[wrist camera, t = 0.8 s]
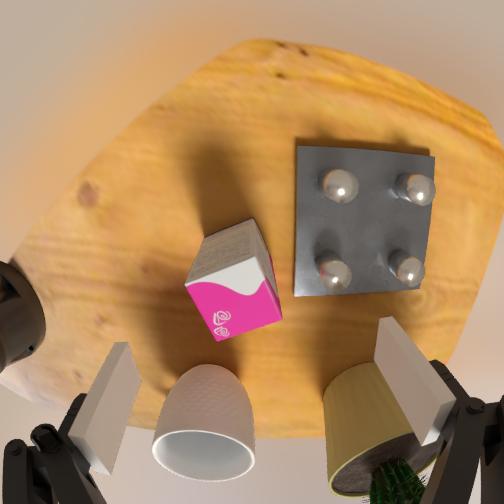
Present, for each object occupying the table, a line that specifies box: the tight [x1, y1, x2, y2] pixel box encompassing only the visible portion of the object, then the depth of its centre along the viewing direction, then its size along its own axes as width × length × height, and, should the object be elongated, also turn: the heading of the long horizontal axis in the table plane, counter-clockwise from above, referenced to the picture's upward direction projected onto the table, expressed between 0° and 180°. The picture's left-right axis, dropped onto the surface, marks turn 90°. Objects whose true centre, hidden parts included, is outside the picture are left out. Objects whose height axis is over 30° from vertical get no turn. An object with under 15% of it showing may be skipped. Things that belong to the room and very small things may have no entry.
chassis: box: [293, 146, 436, 297], centre depth 30 cm, size 16×16×4 cm
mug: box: [152, 364, 255, 482], centre depth 33 cm, size 15×11×13 cm
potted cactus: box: [323, 363, 444, 504], centre depth 26 cm, size 15×15×30 cm
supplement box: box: [185, 218, 282, 341], centre depth 28 cm, size 6×6×12 cm
